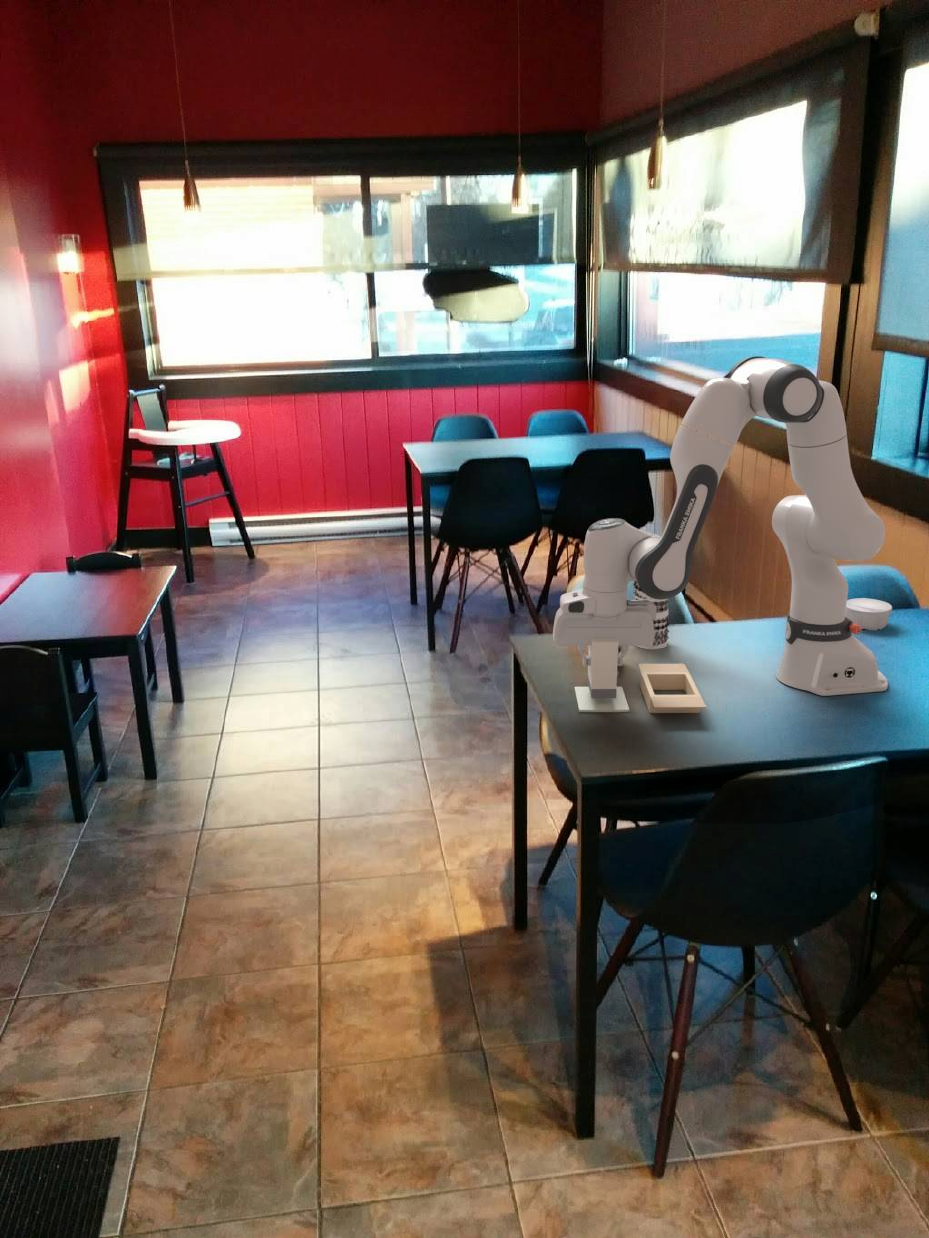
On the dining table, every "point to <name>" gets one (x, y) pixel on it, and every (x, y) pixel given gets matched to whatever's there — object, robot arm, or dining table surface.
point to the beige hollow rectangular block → (669, 680)
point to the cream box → (603, 667)
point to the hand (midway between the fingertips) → (602, 664)
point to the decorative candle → (656, 619)
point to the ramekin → (868, 613)
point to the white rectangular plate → (600, 701)
